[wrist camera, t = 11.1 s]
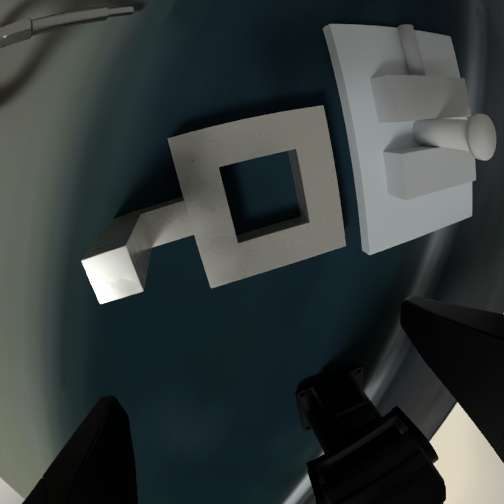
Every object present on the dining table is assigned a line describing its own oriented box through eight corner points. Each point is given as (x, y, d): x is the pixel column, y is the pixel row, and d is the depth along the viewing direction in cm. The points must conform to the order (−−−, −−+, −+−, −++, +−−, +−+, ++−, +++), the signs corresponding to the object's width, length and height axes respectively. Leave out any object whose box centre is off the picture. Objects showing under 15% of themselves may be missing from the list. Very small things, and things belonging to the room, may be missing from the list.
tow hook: (-37, 59, 10) (-43, 1, 5) (88, 21, 16) (127, -34, 11) (-25, 142, 13) (-40, 108, 8) (105, 93, 19) (148, 51, 14)
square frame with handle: (143, 297, 19) (133, 366, 13) (96, 163, 16) (51, 176, 10) (335, 238, 21) (395, 280, 15) (312, 107, 18) (377, 96, 11)
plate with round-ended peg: (464, 213, 24) (522, 236, 17) (362, 250, 22) (423, 291, 16) (442, 38, 18) (504, 27, 11) (322, 28, 16) (383, -9, 10)
